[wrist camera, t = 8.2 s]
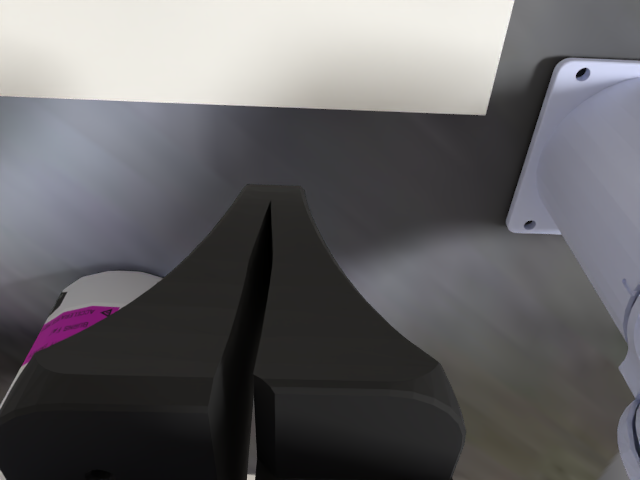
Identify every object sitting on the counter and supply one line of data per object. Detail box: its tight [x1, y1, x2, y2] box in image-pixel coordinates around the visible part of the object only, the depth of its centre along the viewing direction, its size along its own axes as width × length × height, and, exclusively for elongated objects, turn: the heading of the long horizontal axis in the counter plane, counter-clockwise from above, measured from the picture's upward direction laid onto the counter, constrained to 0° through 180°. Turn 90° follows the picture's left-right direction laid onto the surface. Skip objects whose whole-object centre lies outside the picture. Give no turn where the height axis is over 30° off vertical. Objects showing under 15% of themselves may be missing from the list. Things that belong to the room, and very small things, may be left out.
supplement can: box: [0, 270, 163, 480], centre depth 23 cm, size 8×8×15 cm
